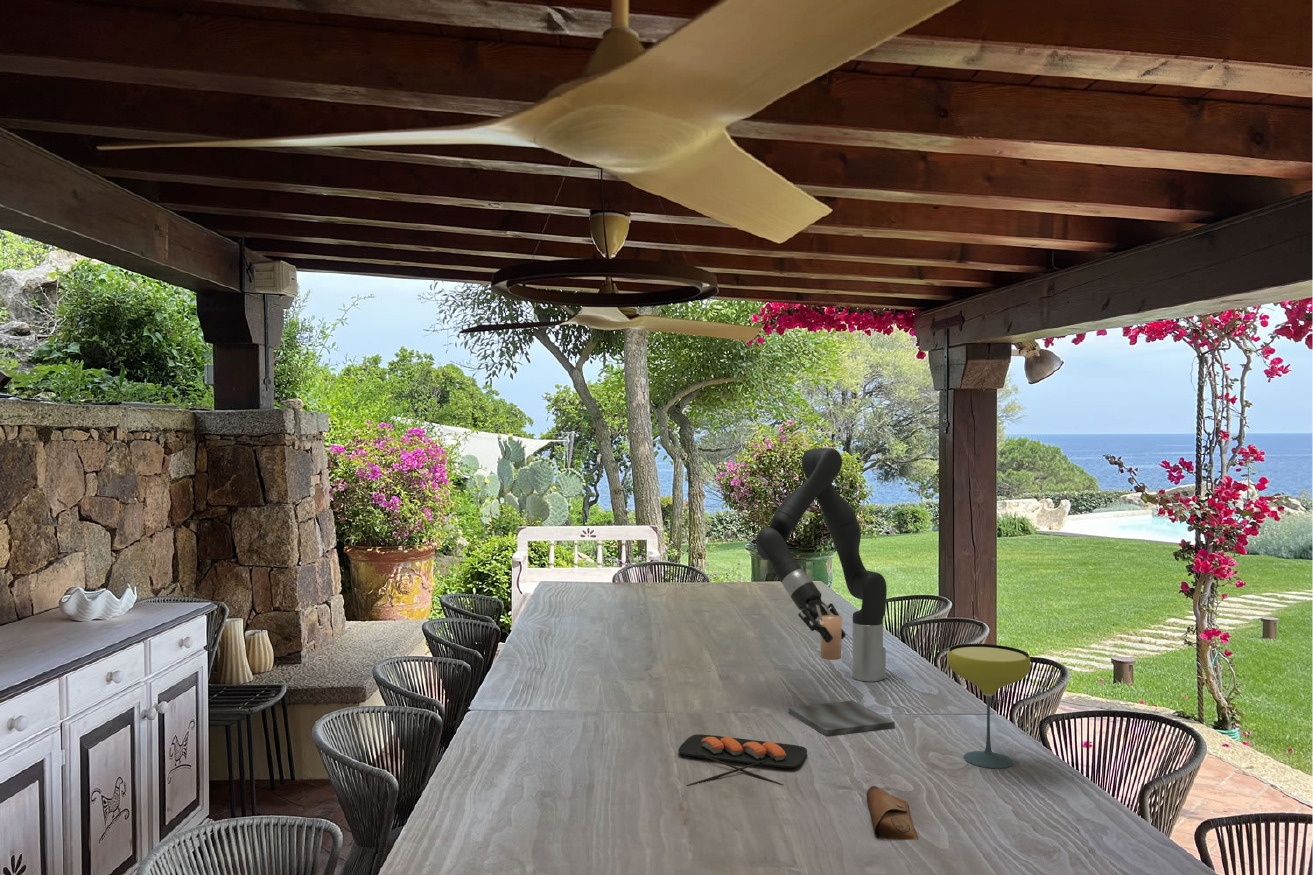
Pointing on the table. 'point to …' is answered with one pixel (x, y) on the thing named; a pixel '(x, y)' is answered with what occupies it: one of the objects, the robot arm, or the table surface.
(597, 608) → the table surface
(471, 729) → the table surface
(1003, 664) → the cocktail glass
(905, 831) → the sunglasses case
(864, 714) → the charcoal board
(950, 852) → the table surface
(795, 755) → the sushi plate
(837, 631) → the tan dome-topped cylinder
